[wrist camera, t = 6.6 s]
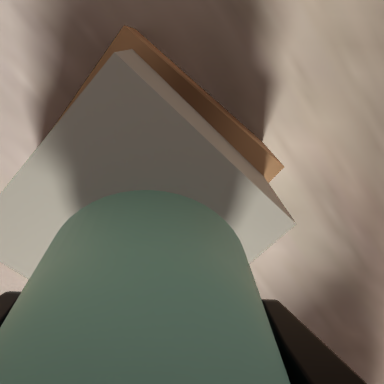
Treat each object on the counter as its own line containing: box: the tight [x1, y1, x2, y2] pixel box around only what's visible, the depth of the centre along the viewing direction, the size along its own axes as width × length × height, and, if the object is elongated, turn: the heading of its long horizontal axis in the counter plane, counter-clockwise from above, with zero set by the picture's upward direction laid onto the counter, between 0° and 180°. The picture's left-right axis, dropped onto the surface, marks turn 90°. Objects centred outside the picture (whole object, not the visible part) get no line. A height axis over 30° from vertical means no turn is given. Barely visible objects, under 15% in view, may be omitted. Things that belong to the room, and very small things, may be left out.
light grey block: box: [0, 49, 297, 279], centre depth 12 cm, size 7×7×4 cm
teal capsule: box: [0, 190, 290, 384], centre depth 6 cm, size 5×5×5 cm
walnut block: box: [52, 25, 284, 183], centre depth 15 cm, size 8×8×4 cm
